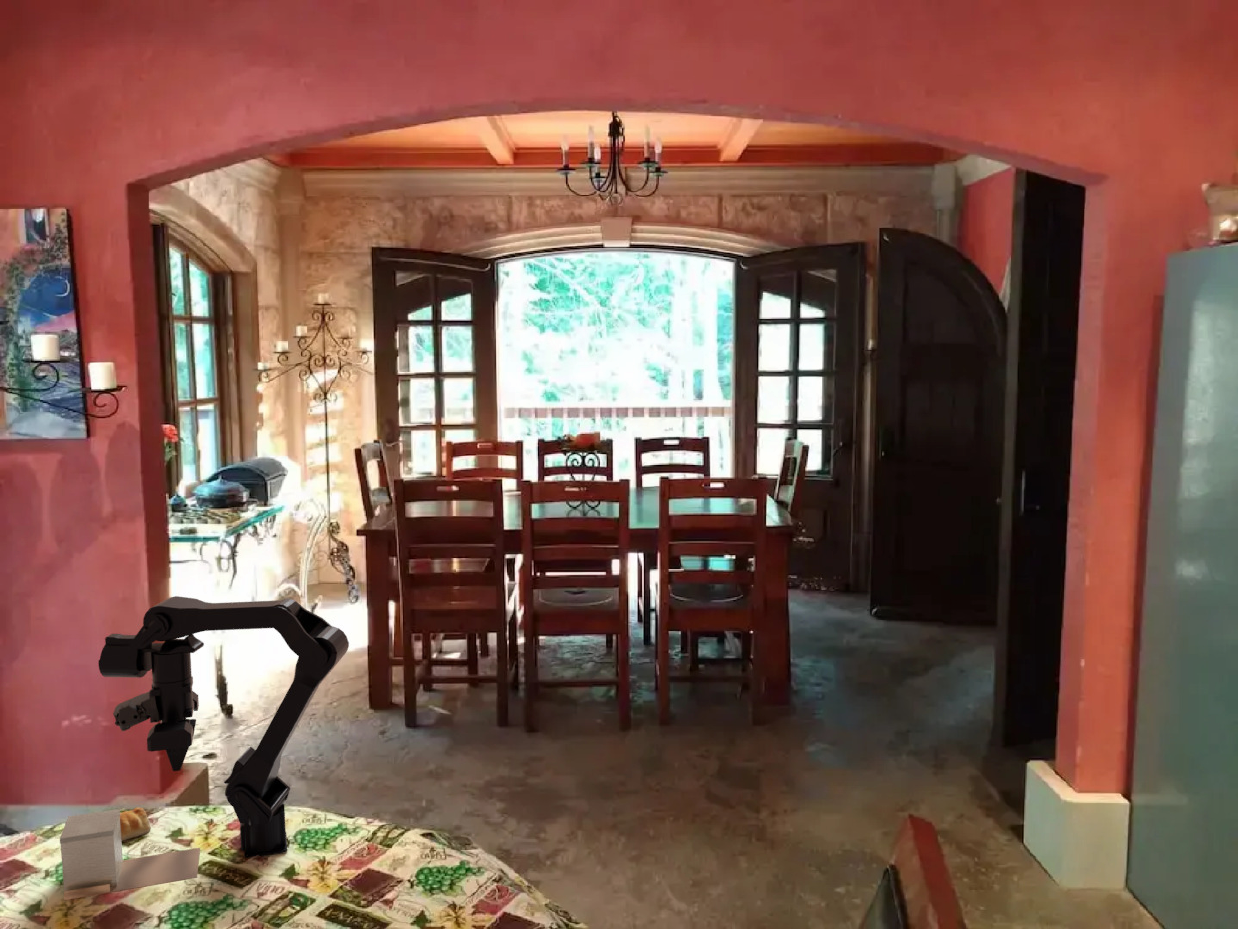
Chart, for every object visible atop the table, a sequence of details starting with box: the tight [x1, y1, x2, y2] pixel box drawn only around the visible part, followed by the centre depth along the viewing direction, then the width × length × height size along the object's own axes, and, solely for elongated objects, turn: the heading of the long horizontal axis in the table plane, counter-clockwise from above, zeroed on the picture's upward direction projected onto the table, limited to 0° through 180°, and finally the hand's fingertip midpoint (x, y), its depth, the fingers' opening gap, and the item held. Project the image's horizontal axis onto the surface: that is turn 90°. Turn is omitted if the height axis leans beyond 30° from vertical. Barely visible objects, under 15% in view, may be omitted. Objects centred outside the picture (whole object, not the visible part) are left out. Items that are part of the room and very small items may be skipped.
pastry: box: [120, 806, 152, 842], centre depth 164 cm, size 9×7×4 cm
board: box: [63, 847, 201, 901], centre depth 152 cm, size 18×9×1 cm, turn 110°
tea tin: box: [59, 808, 124, 893], centre depth 149 cm, size 7×7×9 cm
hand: (176, 770), depth 159 cm, fingers closed
